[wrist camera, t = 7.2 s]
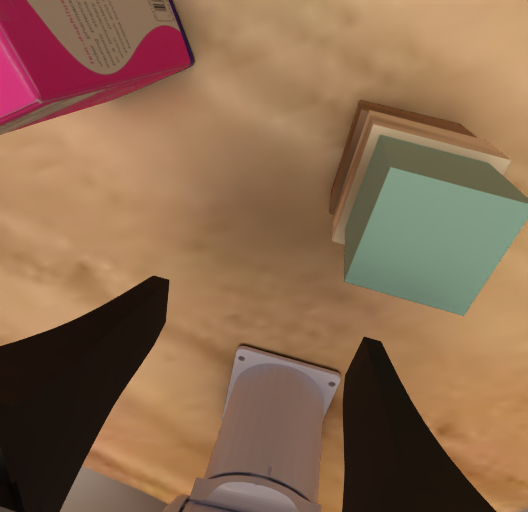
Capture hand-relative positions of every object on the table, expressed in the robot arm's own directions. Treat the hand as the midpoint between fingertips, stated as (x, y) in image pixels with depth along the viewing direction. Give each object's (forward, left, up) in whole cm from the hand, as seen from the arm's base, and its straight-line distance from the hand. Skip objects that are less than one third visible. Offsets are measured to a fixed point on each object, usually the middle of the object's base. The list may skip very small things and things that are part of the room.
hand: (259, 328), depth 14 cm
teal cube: (+5, -4, -5) cm, 8 cm away
